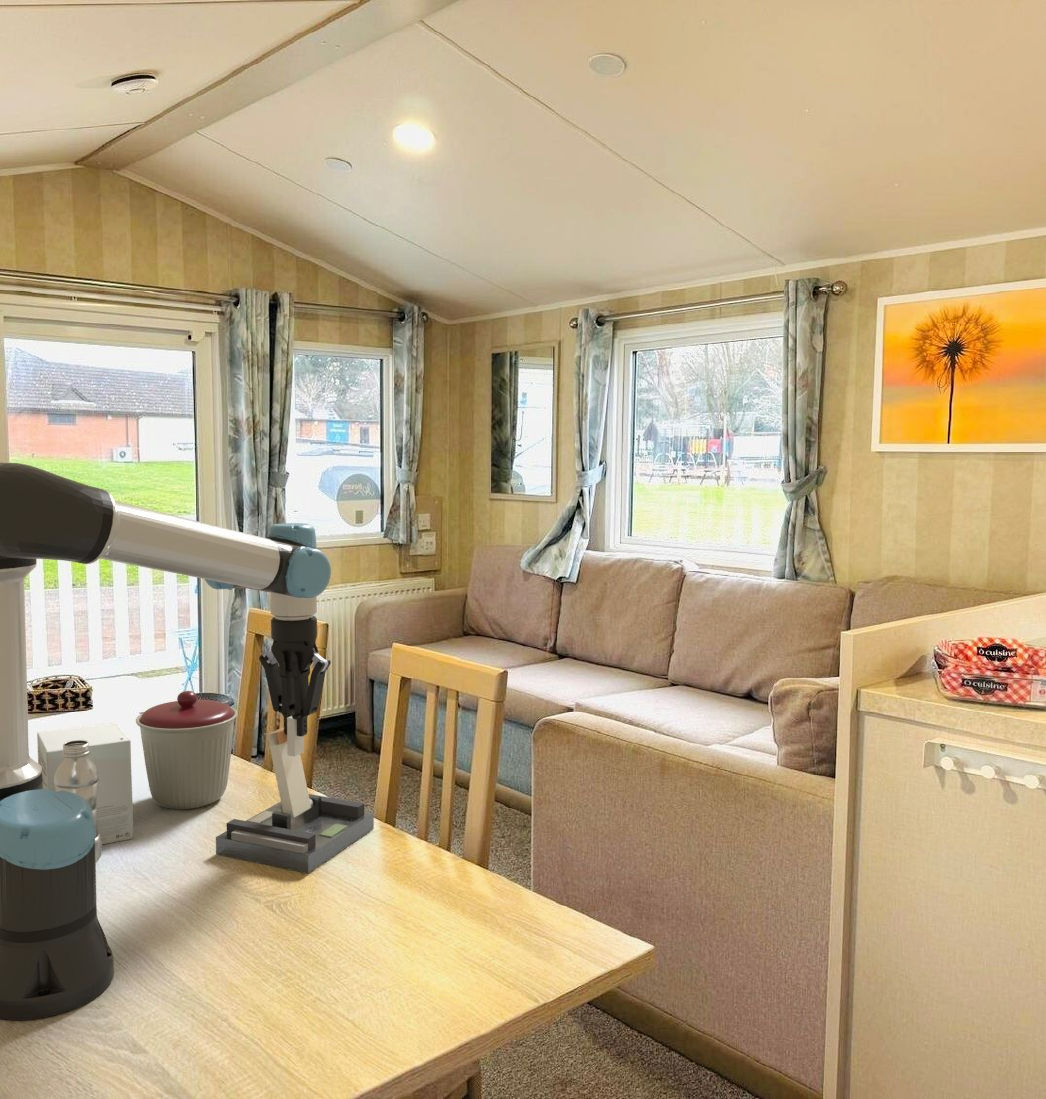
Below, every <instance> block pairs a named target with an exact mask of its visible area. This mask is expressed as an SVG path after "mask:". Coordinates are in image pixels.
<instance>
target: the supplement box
mask: <svg viewBox="0 0 1046 1099" xmlns="http://www.w3.org/2000/svg"><path fill="white" fill-rule="evenodd" d="M36 736H37V763H38V764H39V765H41V767H42V780H43V789H53V790H54V791H55V792H56V788H55V783H54V776H55V772H56V771H57V769H58V767H59V766H60V764H61V763H62V762H63V760H64V758H65V757H63V755H62V753H63V744H64V743H66V742H69V741H75V740H85V741H88V743H89V754H88V755H87V756H88V758H89V759H90V760H91V761H92V762H93V763H94V765H95V766H96V767H97V770H98V773H99V780H98V789H97V806H96V808H97V811H96V815H97V822H98V830H99V834H100V838H101V842H102V845H105V844H106V845H107V844H111V843H116V842H122V841H128V840H132V839H134V811H133V806H134V804H133V784H132V783H133V782H132V777H133V776H132V752H131V750H132V748H131V746H132V745H131V740H130V738H129V737H128V736H127V735H126V733H125V732H124V731H123V729H121V727H120V726H119V724H118V723H117V722H116V721H112V722H105V723H98V724H91V725H83V726H76V727H68V728H61V729H55V730H46V731H37V734H36Z"/></svg>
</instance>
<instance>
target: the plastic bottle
mask: <svg viewBox="0 0 1046 1099" xmlns="http://www.w3.org/2000/svg"><path fill="white" fill-rule="evenodd" d="M88 754H89V743H88V741H85V740H75V741H69V742H66V743H64V744H63V753H62V755H63V757H65V758H64V760H63V762H62V763H61V764H60V766H59V767H58V769H57V771H56V772H55V776H54V783H55V788H56V792H57V791H61V790H64V791H68V792H72V793H75V794H77V795H79V796H81V797H82V798H84V799H85V800H86V801H87V802H88V803H89V805H90V807H91V809H92V812H93V819H94V824H95V828H96V839H95V861H96V863H98V862H99V860H100V858H102V852H103V844H102V842H101V838H100V834H99V830H98V822H97V815H96V811H97V808H96V806H97V789H98V780H99V773H98V770H97V767H96V766H95V765H94V763H93V762H92V761H91V760H90V759H89V758H88V756H87V755H88Z"/></svg>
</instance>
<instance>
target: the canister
mask: <svg viewBox="0 0 1046 1099" xmlns="http://www.w3.org/2000/svg"><path fill="white" fill-rule="evenodd" d="M238 715H239V714H238V711H237V709H235V708H234V707H232V706H230V705H228V704H227V703H225V702H222V701H217V700H211V699H198V696H197V694H196V693H195V692H194V691H192V690H185V691H181V692H180V693H179V694H178V695H177V699H176V700H175V701H173V700H172V701H169V702H164V703H160V704H157V705H154V706H152V707H150V708H148V709H147V710H145V711H144V712H142V713H141V714H139V715H138V716H137V717H136V718H135V723H136V725H137V726H138V727H139V728H140V729H139V730H140V737H141V743H142V751H143V757H144V758H143V759H144V766H145V771H146V775H147V777H146V778H147V781H148V788H149V792H150V795H151V797H152V799H153V800H154V802H155V803H156V804H157V805H159V806H161V807H162V808H166V809H172V810H187V809H190V810H191V809H197V808H201V807H206V806H208V805H210V804H213V803H215V802H217V801H218V800H220V799H221V798H222V797H223V795H224V794H225V792H226V790H227V787H228V782H229V774H230V764H231V757H232V745H233V735H234V723H235V719H236V718H237V717H238Z"/></svg>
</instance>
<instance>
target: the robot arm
mask: <svg viewBox="0 0 1046 1099" xmlns="http://www.w3.org/2000/svg"><path fill="white" fill-rule="evenodd" d="M316 534H317V533H316V530H315V527H314V526H313V525H311V524H309V523H300V522H299V523H298V522H297V523H296V522H286V523H275V524H271V525H270V527H269V533H268V534H267V537H262V536H258V535H254V534H250V533H247V532H244V531H243V532H241V531H240V530H239V531H238V530H234V529H230V528H227V527H222V526H218V525H213V524H210V523H205V522H203V521H198V520H194V519H189V518H185V517H183V516H178V515H173V514H170V513H165V512H161V511H158V510H154V509H149V508H146V507H142V506H138V505H133V504H130V503H127V502H126V503H125V502H121V501H118V500H115V499H114V498H113V495H112V494H111V493H110V492H109V491H108V490H106V489H103V488H99V487H95V486H91V485H87V484H85V483H81V482H78V481H76V480H72V479H70V478H66V477H63V476H61V475H58V474H56V473H53V472H51V471H47V470H46V469H45V470H44V469H42V468H38V467H37V466H32V465H30V464H24V463H19V462H0V1019H3V1020H11V1021H12V1020H13V1021H24V1020H25V1021H26V1020H27V1021H29V1020H35V1019H36V1020H37V1019H42V1018H47V1017H52V1016H56V1015H60V1014H63V1013H67V1012H68V1011H71V1010H74V1009H76V1008H78V1007H81V1006H83V1005H85V1004H86V1003H89V1002H90V1001H92V1000H93V999H96V998H97V997H99V996H100V995H101V994H103V992H104V991H105V990H106V989H107V988H108V987H109V986H110V984H111V983H112V981H113V980H114V975H115V970H114V968H115V967H114V964H115V963H114V962H115V961H114V955H113V951H112V949H111V947H110V946H109V943H108V941H107V940H108V939H107V938H106V935H105V932H104V930H103V927H102V925H101V923H100V921H99V919H98V910H97V909H98V908H97V870H96V869H97V868H96V866H97V865H96V861H95V839H96V828H95V824H94V819H93V812H92V809H91V807H90V805H89V803H88V802H87V801H86V800H85V799H84V798H82V797H81V796H79V795H77V794H75V793H72V792H68V791H64V790H61V791H57V792H55V791H54V790H53V789H43V780H42V767H41V765H39V764H38V761H36V760H34V759H33V758H32V757H30V753H29V752H30V750H29V749H30V748H29V745H30V744H29V711H28V709H29V708H28V675H27V673H28V671H27V644H26V643H27V642H26V641H27V640H26V639H27V638H26V637H27V636H26V634H27V632H26V606H25V604H26V602H25V601H26V600H25V598H26V597H25V579H26V577H28V575H29V574H30V573H31V572H32V571H33V570H34V569H36V567H37V560H39V559H40V560H52V561H53V560H55V561H65V562H73V563H77V564H83V565H91V564H94V563H95V562H97V561H98V560H104V561H109V562H115V563H121V564H124V565H125V564H127V565H130V566H135V567H141V568H145V569H151V570H157V571H162V572H168V573H172V574H176V575H177V574H178V575H183V576H187V577H193V578H198V579H203V580H204V581H205V582H206V584H207V585H208V586H209V587H210V588H211V589H214V590H228V591H230V590H231V591H232V589H233V590H234V589H248V590H254V591H259V592H260V591H261V592H267V593H270V595H269V596H270V598H269V599H270V600H269V601H270V615H272V616H273V617H272V619H270V637H271V640H273V641H272V644H271V647H270V650H269V651H268V652H267V653H265V654H262V655H259V656H258V660H259V663H261V665H262V668H263V669H264V674H265V678H266V682H267V683H266V684H267V688H268V692H269V696H270V701H271V706H272V710H273V711H274V712H275V713H276V712H278V713H280V714H281V715H282V717H283V727H284V733H285V734H287V745H288V756H294V757H295V756H297V755H299V754H300V755H302V754H303V753H305V736H306V735H307V734H308V716H310V715H312V714H315V713H317V712H318V711H319V705H320V701H321V697H322V691H323V686H324V681H325V677H326V672H327V670H328V669H329V667H330V665H331V663H332V662H331V659H329V658H323V657H322V656H321V655H320V654H319V649H318V646H317V642H316V640H317V637H318V618H317V617H316V616H315V615H316V614H317V612H318V608H317V606H318V605H317V602H318V601H317V597H319V595H321V594H322V593H323V592H325V590H326V589H327V588H328V585H329V583H330V579H331V575H332V566H331V563H330V562H331V561H330V560H329V558H328V557H327V555H326V553H324V552H323V551H321V550H320V549H318V548H317V535H316ZM311 668H312V670H311ZM309 676H310V677H309Z"/></svg>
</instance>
